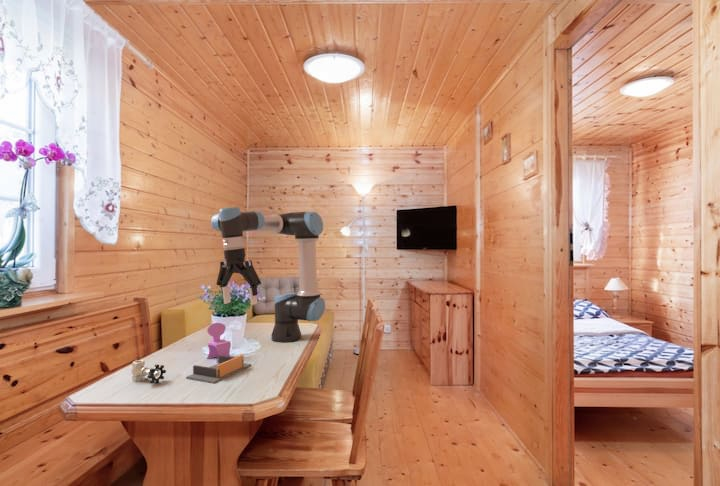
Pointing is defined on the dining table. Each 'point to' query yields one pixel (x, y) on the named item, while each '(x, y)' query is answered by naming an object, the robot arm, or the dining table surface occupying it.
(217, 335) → the toy chair
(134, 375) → the valve
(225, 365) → the grey and orange tray
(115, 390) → the dining table surface
